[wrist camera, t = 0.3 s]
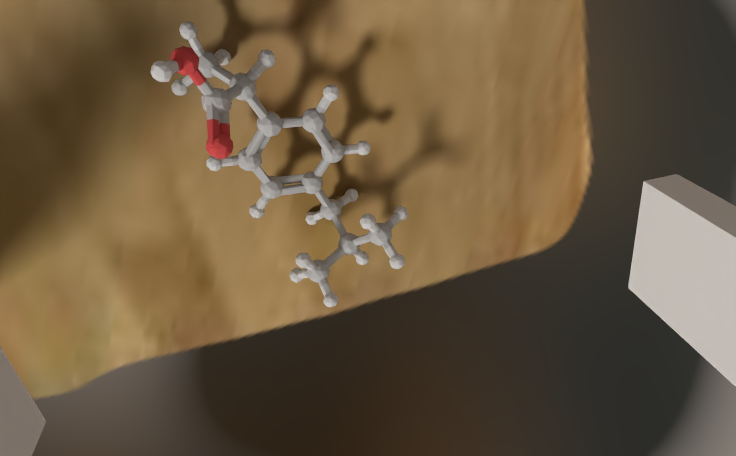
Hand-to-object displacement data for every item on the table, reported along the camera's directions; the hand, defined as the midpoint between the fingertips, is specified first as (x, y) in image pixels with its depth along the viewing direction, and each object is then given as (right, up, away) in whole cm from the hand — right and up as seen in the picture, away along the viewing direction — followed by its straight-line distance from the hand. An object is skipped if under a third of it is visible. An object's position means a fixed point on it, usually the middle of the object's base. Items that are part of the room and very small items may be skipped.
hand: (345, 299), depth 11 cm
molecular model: (-5, +8, +26) cm, 28 cm away
